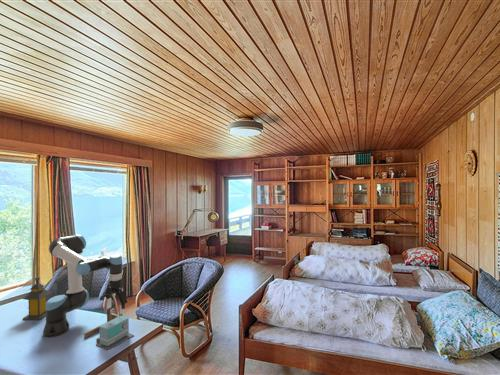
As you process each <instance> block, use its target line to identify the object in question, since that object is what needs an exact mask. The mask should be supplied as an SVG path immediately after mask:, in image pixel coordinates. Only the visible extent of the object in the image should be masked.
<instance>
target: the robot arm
mask: <svg viewBox="0 0 500 375" xmlns="http://www.w3.org/2000/svg"><path fill="white" fill-rule="evenodd" d="M86 246H87V241H86V239H85V237H84V236H83V235H82V234H73V235H65V236H60V237H57V238H55V239H53V240H52V241H51V242H50V244H49V245H48V252H49V254H50V255H51V256H53V257H54V258H59V259H61V260H62V261H64V262H66V263H67V264H66V265H67V285H68V290H66V292H65V293H66V295H65V294H59V295H54V296H53V297H51V298H49V299H48V300H47V302H46V307H45V309H46V317H45V325H44V327H43V330H42V335H43V337H45V338H52V337H53V338H54V337H58V336H60V335H64V334H65V333H67V332H68V331H69V329H70V323H69V321H68V318H67V313H70V312H72V311H76V310H78V309H81V308H82V307H85V306H86V305H87V304H88V302H89V300H90V299H89V298H90V294H89V291H88V290H87V289H85V287H83V275H88V274H91V273H93V272H97V271H100V270H104V269H107V270H109V272H108V273H109V277H108V278H109V282H108V283H109V284H108V285H107V288H106V290H105V293H104V298H106V310H107V309H109V308H110V309H111V308H112V296H113V294H115V296H117V298H118V300H119V302H120V304H119V311H120V314H122V315H123V314H125V307H126V304H128V300H127V296H126V292H125V288H124V287H121V286H122V285H123V284H122V283H123V279H122V278H123V256H122V255H121V254H113V255H110V256H107V255H100V256H98V257H97V258H95V259H91V260H89V259H87V258H86V257H84V256H82V254H83V253H84V249H86V248H87V247H86Z"/></svg>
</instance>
